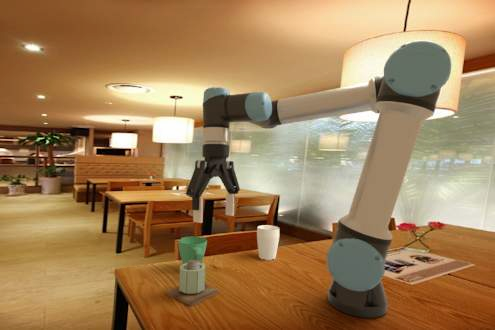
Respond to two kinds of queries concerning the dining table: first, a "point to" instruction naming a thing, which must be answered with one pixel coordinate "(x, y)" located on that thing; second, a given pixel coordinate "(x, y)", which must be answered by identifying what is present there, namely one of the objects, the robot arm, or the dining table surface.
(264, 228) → the cup
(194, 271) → the pale green hollow tube
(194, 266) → the shaft block
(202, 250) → the mug
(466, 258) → the dining table surface
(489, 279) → the dining table surface
